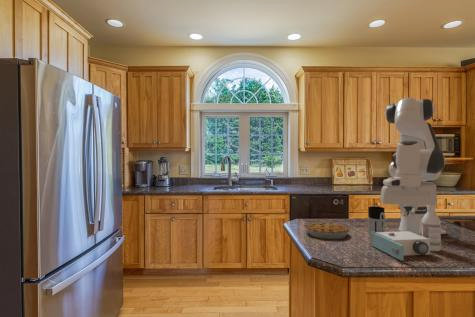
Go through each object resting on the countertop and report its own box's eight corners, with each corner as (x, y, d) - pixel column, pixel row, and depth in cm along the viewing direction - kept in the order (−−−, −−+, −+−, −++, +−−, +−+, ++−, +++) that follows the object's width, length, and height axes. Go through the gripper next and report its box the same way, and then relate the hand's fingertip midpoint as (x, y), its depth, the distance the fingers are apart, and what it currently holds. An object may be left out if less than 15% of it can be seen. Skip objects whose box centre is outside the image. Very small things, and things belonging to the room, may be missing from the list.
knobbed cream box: (408, 245, 137) (408, 229, 137) (434, 256, 122) (434, 238, 122) (375, 246, 136) (375, 230, 136) (397, 258, 120) (397, 240, 120)
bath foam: (423, 246, 137) (423, 202, 136) (441, 249, 132) (441, 203, 132) (420, 249, 131) (420, 204, 131) (439, 252, 127) (439, 205, 127)
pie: (352, 241, 145) (352, 231, 145) (306, 239, 149) (306, 229, 149) (345, 230, 166) (345, 221, 166) (305, 228, 171) (305, 220, 171)
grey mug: (381, 235, 156) (381, 206, 156) (394, 242, 142) (394, 211, 142) (364, 234, 156) (364, 206, 156) (375, 242, 142) (375, 211, 142)
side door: (373, 245, 137) (373, 231, 137) (403, 261, 116) (403, 244, 116) (369, 245, 136) (369, 231, 136) (398, 261, 116) (398, 244, 116)
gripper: (432, 180, 122) (432, 214, 122) (379, 180, 124) (379, 213, 124) (440, 182, 115) (440, 217, 115) (384, 181, 118) (384, 216, 118)
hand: (408, 215), depth 120 cm, fingers closed
